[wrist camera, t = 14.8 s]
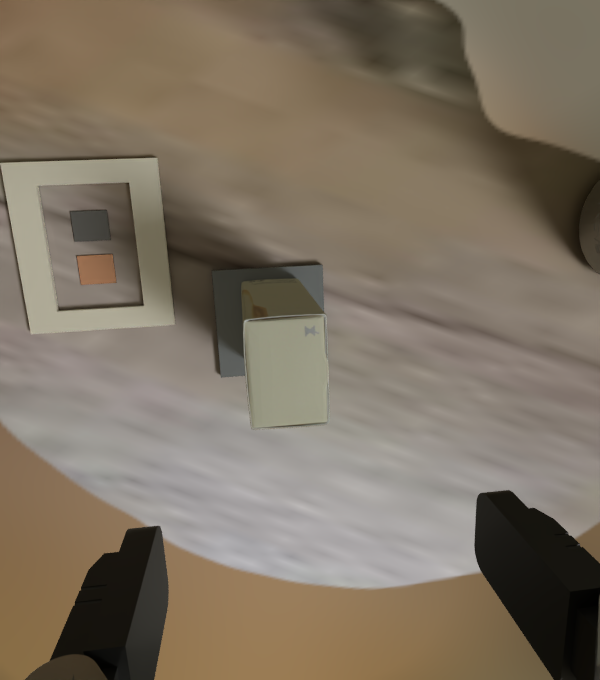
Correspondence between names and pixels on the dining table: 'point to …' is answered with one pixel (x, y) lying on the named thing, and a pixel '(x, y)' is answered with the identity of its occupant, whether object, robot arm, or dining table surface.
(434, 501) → the dining table surface
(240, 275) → the tile
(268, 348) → the skincare box
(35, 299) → the flat square frame
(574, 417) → the dining table surface
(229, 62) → the dining table surface
